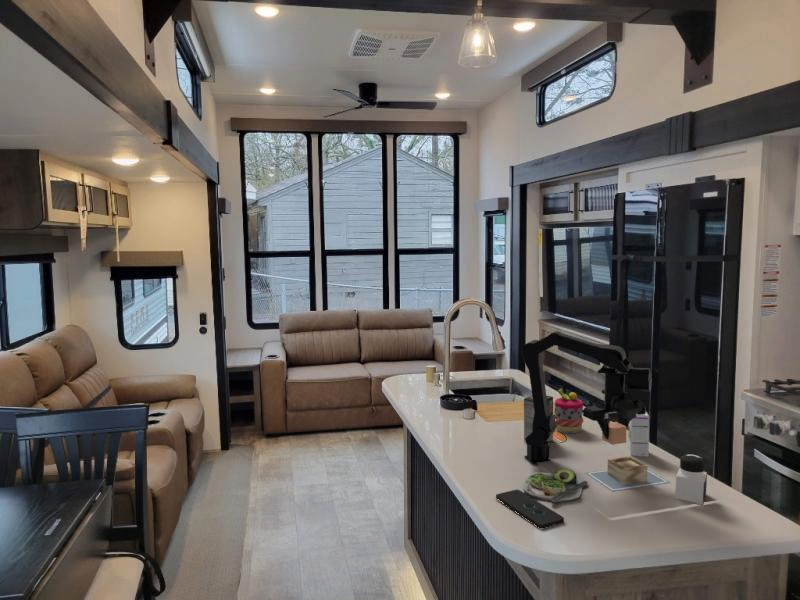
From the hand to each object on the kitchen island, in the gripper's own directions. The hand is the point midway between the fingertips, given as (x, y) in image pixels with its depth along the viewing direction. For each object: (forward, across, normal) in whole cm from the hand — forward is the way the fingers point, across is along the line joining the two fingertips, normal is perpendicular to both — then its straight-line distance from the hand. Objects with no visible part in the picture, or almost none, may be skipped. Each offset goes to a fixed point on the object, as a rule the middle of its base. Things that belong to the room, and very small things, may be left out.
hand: (614, 437), depth 184 cm
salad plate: (+12, -23, -3) cm, 26 cm away
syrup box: (+12, +17, +11) cm, 24 cm away
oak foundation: (+11, +1, -5) cm, 12 cm away
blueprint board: (+12, +1, -5) cm, 13 cm away
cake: (+11, +10, +41) cm, 44 cm away
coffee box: (+11, -7, +34) cm, 36 cm away
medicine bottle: (+12, +10, -21) cm, 26 cm away
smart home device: (+12, -36, -13) cm, 41 cm away
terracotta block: (+1, 0, 0) cm, 1 cm away
